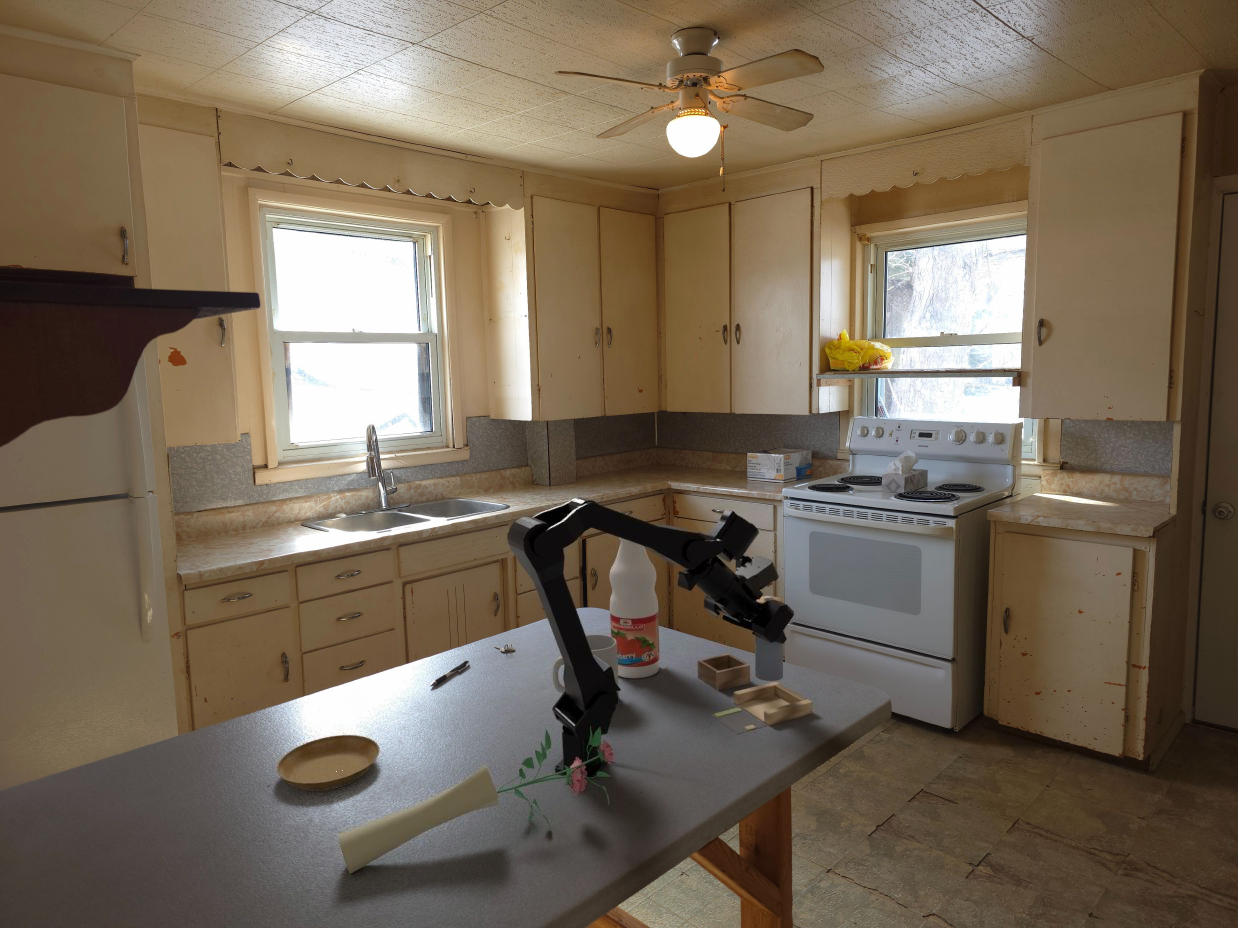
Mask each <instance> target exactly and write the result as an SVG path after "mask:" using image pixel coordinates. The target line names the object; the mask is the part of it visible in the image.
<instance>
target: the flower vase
mask: <svg viewBox="0 0 1238 928" xmlns="http://www.w3.org/2000/svg"><path fill="white" fill-rule="evenodd" d="M544 735H545V736H544V744H543V742H542V741H540V748H541V751H539V750H537V749H534V752H535V757H536V761H537V763H538V766H539V768H538V770H537V772H536V774H535V776H534V778H533V779H532V780H529V781H526V782H523V783H522V781H523V780H525V779H526V778H527V776H526V772H527V771H529V769H535V765H534V764H535V763H534V759H533V757H531V756H530V757H527V758H524V760H523V761H522V763H521V765H522V766H524V767H525V768H527V769H526V770H525V771H524V769H523V768H522V767H519V769H518V774H519V775H518V776H516V778H514V779H512V780H510V781H508V782H507V783H505V784H503V785H502V786H500V788H499V789H496V787H495V784H494V782H493V780H492V777H491V775H490V771H489V769H488V766H487V764H484V765H482V766H481V767H480V768H479V769H478V770H476V771H475V772H473V773H471V775H470V776H468V777H467V778H465V779H464V780H462V781H461V782H459V783H456V784H455V785H453V786H452V787H449V788H447V789H444V790H443V791H441V792H440V793H437V794H436V795H434V796H432V797H429V798H428V799H425V800H424V801H421V802H419V803H417V804H414V805H411V806H409V807H407V808H404V809H402V810H401V809H400V810H398V811H396V812H393V813H390V814H388V815H385V816H382V817H380V818H379V817H378V818H376V819H374V820H371V821H369V822H367V823H364V824H361V825H359V826H358V825H357V826H356V827H353V828H351V829H348V830H346V831H343V832H340V833H338V834H337V837H338V843H339V847H340V850H341V851H340V852H341V854H342V857H343V860H344V863H345V865H346V869H347V870H348V873H349V874H352V873H354V872H357V871H358V870H360V869H362V868H363V867H365V866H366V865H368V864H370V863H372V862H374V861H376V860H377V859H379V858H381V857H383V856H385V855H386V854H388V853H390V852H391V851H394V850H395V849H397V848H398V847H401V846H402V845H404V844H406V843H408V842H409V841H411V840H413V839H415V838H416V837H418V836H421V835H422V834H423V833H425V832H427V831H430V830H431V829H434V828H437V827H438V826H441V825H443V824H446V823H448V822H450V821H452V820H455V819H458V818H459V817H462V816H463V815H467V814H469V813H471V812H475V811H478V810H482V809H487V808H491V807H496V806H499V795H498V794H501V793H504V792H505V793H506V794H514V795H515V796H517V797H519V798H521V799H523V800H525V801H527V802H528V806H529V807H530V810H529V814H528V819H527V820H528V821H529V820H532V819H533V818H534V815H535V814H534V811H535V813H536V814H538V815H540V816H541V817H543V819H544V820H545V821H546V823H547V825H548V827H549V829H550V832H551V833H553V830H552V828H551V825H550V823H549V820H548V818H547V817H546V816H545V815H544V814H543V813H539V812H541V809H540V806H539V803H538V800H537V799H536V798H535V797H534V799H533V801H532V800H531V799H529V798H528V797H526V795H524V793H523V792H522V791H521V790H520V789H519V788H522V787H528V786H530V785H531V786H532V785H533V784H538V783H543V782H546V781H547V782H548V781H552V780H561V779H566V781H565V783H564V784H563V786H564V787H565V786H567V787H569V788H570V790H571V792H573V795H572V796H573V797H574V796H575V798H577V797H578V795H579V793H580V792H583V791H584V790H585V789H586V784H587V782H588V781H590V783H593V784H595V785H596V786H598V787H600V788H602V789H603V790H604V791H605V794H606V798H607V804H608V806H609V805H610V798H609V794H608V792H607V789H606V786H605V785H603V786H601V785H599V784H598V783H595V782H594V781H592V780H591V779H590V778H589V777H586V775H587V772H586V771H585V768H586V766H585V765H584V764H586V763H588V762H590V761H592V760H594V759H596V758H598V757H600V758H601V761H603V760H604V761H605V762H608V763H607V764H608V765H611V764H612V763H613V762H614V755H615V754H614V752H613V748H612V745H611V744H610V743H609V742H608V741H607V740H605V739H604V738H603V740H602V736H603V735H601V728H600V727H599V728H598V729H597V731H596V732H595V734H594V736H593V738H592V731H591V726H590V739H589V743H588V745H592V747H593V746H599V744H600V741H601V746H600V748H599V750H598V749H597V750H598V752H599V755H598V756H596V757H594V758H592V759H590V760H588V758H587V761H586V762H584V763H582V760H579V758H578V759H577V757H576V760H575V761H574V763H573V764H572V765H571V766H570V768H569V769H568V767H566V766H565V768H566V770H564V771H561V772H558V771H557V772H555V773H552V774H548V775H545V776H544V775H543V776H541V777H538V778H537V775H539V773H540V770H541V768H542V767H541V766H542V763H543V762H544V760H546V759H548V758H547V757H548V755H547V752H548V750H549V749H551V748H552V739H551V735H550V734H549V731H548V730H547V728H546V729H545V733H544ZM602 741H603V742H602ZM592 747H591V748H592ZM587 748H588V746H587ZM590 750H591V749H590ZM587 752H588V750H587ZM589 752H590V751H589ZM588 755H589V753H588ZM564 772H567V773H566V775H561V774H563V773H564ZM564 774H565V773H564ZM557 775H560V776H557ZM519 777H520V784H517V785H513V786H510V787H506V788H504V787H505V786H506V785H507V784H510V783H511V782H513V781H515V780H517V779H518V778H519ZM597 777H600V778H603V777H604V778H610V777H612V776H611V775H610V774H608V773H606V772H604V771H601V770H600V771H599V772H597V774H596V775H595V776H594V777H593V778H592V779H595V778H597ZM522 779H523V780H522ZM587 780H588V781H587ZM512 790H514V792H509V791H512ZM533 804H534V805H535V806H536V807H537V808H538V811H537V810H536V809H535V808H534V806H533Z"/></svg>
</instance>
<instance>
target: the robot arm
mask: <svg viewBox="0 0 1238 928" xmlns="http://www.w3.org/2000/svg"><path fill="white" fill-rule="evenodd" d="M590 529H594V530H597V531H600V532H603V533H605V534H608V535H612V536H614V537H617V538H619V537H620V538H622V539H625V540H628V541H631V542H634V543H637V544H640V545H642V546H644V547H645V549H647V550H649V551H650V552H651V553H653V554H655V555H656V556H658V557H659V558H661V559H662V560H663V561H666V562H669V563H672V564H674V565H676V566H679V567H682V568H685V569H684V570H680V571H678V572H677V574H678V578H677V587H680V588H682V589H684V590H686V591H688V592H692V591H693V589H694V588H695V587H698V589H699V590H700V591H701V592H703V593H704V594H705V597H704V599H703V607H704V609H706V610H707V611H708V613H710V614H712V615H714V616H716V617H717V618H718V617H720V616H721V614H723V615H722V620H723V621H726V622H727V623H729V624H731V625H734V626H737V627H740V628H743V629H745V630H749V631H750V632H751V631H752V633H751V634H752V635H754V637H755V636H757V637H759V638H762V639H764V640H766V641H768V642H770V643H773V642H778V643H781V644H783V645H784V644H785V642H786V641H787V636H786V634H785V632H784V630H785V629H786V628H787V626H788V625H789V623H790V622H791V620H793V617H795V612H794V609H792V608H791V606H789V605H788V604H786V603H784V602H783V603H782V602H779V601H777V600H768V601H766V602H764V603H759V602H757V599H758V600H759V599H760V598H761V597H763V595H764V593H763V591H762V590H763V589H765V588H766V587H767V586H769V585H770V584H771V583H773V582H776V581H777V580H778V579H779V577H780V576H779V574H778V571H777V568H776V567H775V564H774V562H773V560H772V559H769V558H767V557H764V556H761V555H760V556H755V555H752V556H751V557H750V556H748V555H747V554H746V553H747V551H748V549H749V548H750V547H751V545H752V544H753V543H754V541H755V539H757V536H758V535H759V534H760V530H759V529H758V528H757V527H756V525H755V524H754V523H752V522H750V521H748V520H746V519H745V518H743V517H742V516H740V515H738V514H737V513H736V511H734V510H730V509H725V510H723V513H722V514H721V516H720V518H719V520H718V521H717V523H715V525H714V527H713V528H712V529H711V531H710V532H709V534H705V533H703V532H701V531H700V532H695V531H692V530H689V529H685V528H683V527H680V526H676V525H675V526H674V525H670V524H669V525H667V524H659V523H658V524H657V523H650V522H648V521H645V520H642V519H640V518H636V517H634V516H631V515H628V514H625V513H623V512H620V511H618V510H615V509H612V508H609V507H606V506H604V505H601V504H600V503H598V502H596V501H595V500H592V499H590V498H585V497H582V496H577V497H574V498H572V499H570V500H569V501H567V502H565V503H563V504H560V505H558V506H555V507H552V508H548V509H546V510H543V511H541V512H539V513H537V514H535V515H533V516H523V517H520V518H517V520H515V521H514V522H513V523H512V524H511V526H510V527H509V529H508V532H507V534H506V539H507V544H508V546H509V548H510V550H511V552H512V553H513V555H514V556H515V558H516V560H517V562H518V563H519V564H520V566H521V567H522V568H523V569H524V570H525V572H526V574H527V575H528V576H529V577H530V579H531V580H532V582H533V584H534V586H535V589H536V592H537V595H538V597H539V600H540V603H541V605H542V608H543V610H544V613H545V615H546V618H547V621H548V624H549V626H550V628H551V631H552V634H553V636H554V640H555V642H556V645H557V648H558V650H559V653H560V657H561V656H562V658H563V661H564V665H563V674H562V676H563V677H562V679H563V685H565V692H564V693H561V696H560V697H559V698H558V700H557V701H556V702H555V704H554V705H553V706H552V708H551V710H552V711H551V712H552V713H553V715H554V717H555V719H556V720H557V721H559V722H560V723H561V724H562V728H561V729H562V731H561V744H562V759H561V760H560V761H559V762H558V763H556V765H554V771H555V772H557V773H558V772H561V771H564V770H566V768H565V766H566V767H568V769H569V768H570V766H571V765H572V764H573V763H574V761H575V760H576V757H577V759H578V758H579V760H582V763H584V762H586V761H587V758H588V760H590V759H592V758H594V757H596V756H598V755H599V752H598V750H599V748H600V746H601V745H602V740H601V741H600V744H599V746H593V747H592V745H588V743H589V739H590V726H591V731H592V738H593V736H594V734H595V732H596V731H597V729H598V728H599V727H600V728H601V735H602V736H603V735H607V734H608V733H609V728H610V726H611V722H612V719H613V715H614V713H615V712H616V709H617V707H618V706H619V701H620V696H619V697H618V693H617V691H619V692H620V691H621V690H622V688H620V687H618V686H617V684H616V682H615V677H614V672H613V669H612V667H611V666H610V665H608V664H607V663H605V662H604V661H602V660H601V659H600V658H598V657H597V656H595V655H593V654H592V651H591V649H590V646H589V643H588V640H587V638H586V635H587V634H586V633H585V630H584V627H583V624H582V621H581V619H580V615H579V613H578V611H577V607H576V605H575V602H574V600H573V597H572V594H571V592H570V589H569V587H568V582H567V580H566V578H565V572H564V571H565V559H566V555H565V548H567V547H569V546H570V545H572V544H574V543H575V542H576V541H578V539H579V538H580V537H581V536H582V535H583V534H584V533H585V532H586V531H589V530H590ZM723 560H724V561H725V562H727V563H731V562H732V561H733V560H734V561H735V570H736V571H735V572H734V570H732V569H731V568H730V567H729V566H728V565H727V564H726V563H725V562H724V561H723ZM587 746H588V748H587ZM591 747H592V748H591ZM590 749H591V750H590ZM597 749H598V750H597ZM587 750H588V752H587ZM589 751H590V752H589ZM588 753H589V755H588ZM607 764H608V762H605V761H604V760H603V761H601V758H600V757H598V758H596V759H594V760H592V761H590V762H588V763H586V764H584V765H585V766H586V768H585V771H586V772H587V775H586V777H589V778H588V779H594V778H593V777H596V776H597V772H600V771H601V770H602V769H603V768H604V767H605V766H606V765H607ZM564 774H567V772H564Z"/></svg>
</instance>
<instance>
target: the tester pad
mask: <svg viewBox="0 0 1238 928" xmlns="http://www.w3.org/2000/svg"><path fill="white" fill-rule="evenodd" d="M711 716H712V717H713V718H714V719H716V721H718V722H720V723H721V724H723V725H724V726H725V727H727V728H728V729H730V730H731V731H732V732H733V733H736V734H737V735H738V734H742V733H747V732H750V731H755V730H758V729H761V728H765V727H768V725H767V724H765V723H763V722H762V721H760V720H759V719H757V718H756V717H754V716H753V715H751V714H750V713H748V712H747V711H745V710H743V709H742V708H740V707H739V706H738V707H734V708H729V709H727V710H723V711H718V712H715V713H711V714H710V717H711Z"/></svg>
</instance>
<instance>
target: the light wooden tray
mask: <svg viewBox="0 0 1238 928" xmlns="http://www.w3.org/2000/svg"><path fill="white" fill-rule="evenodd" d="M733 704H734V705H736V706H737V707H738V708H739V707H740V708H741V709H743V710H744V711H746V712H747V713H749V714H750V715H752V716H753V717H755V718H757V719H758V720H760V721H761V722H763V723H764V724H766V725H767V727H768V726H773V725H777V724H780V723H783V722H787V721H792V720H795V719H798V718H802V717H805V716H809V715H812V714H813V701H812V700H810V699H808V698H806V697H804V696H802V695H801V694H799V693H797V692H795V691H794V690H792V689H790V688H788V687H787V686H784V685H783V684H782V683H780V682H778V681H771V682H769V683H764V684H760V685H757V686H752V687H748V688H745V689H740V690H736V691H734V692H733Z"/></svg>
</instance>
